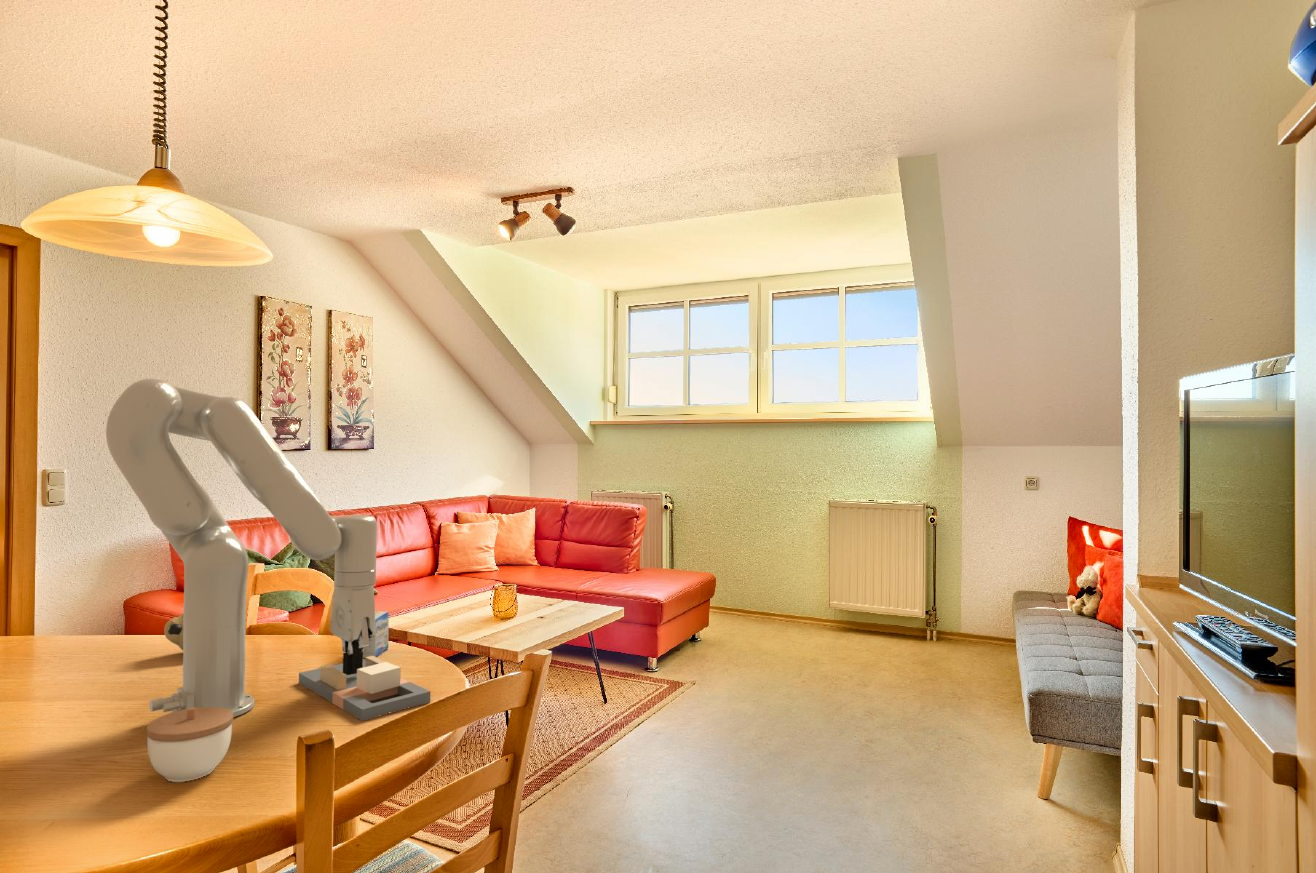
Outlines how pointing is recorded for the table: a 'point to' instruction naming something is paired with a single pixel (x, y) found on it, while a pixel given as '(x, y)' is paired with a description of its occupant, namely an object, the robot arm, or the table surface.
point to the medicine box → (378, 636)
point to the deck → (357, 701)
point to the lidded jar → (189, 742)
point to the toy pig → (175, 630)
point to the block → (378, 677)
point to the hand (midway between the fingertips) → (352, 672)
